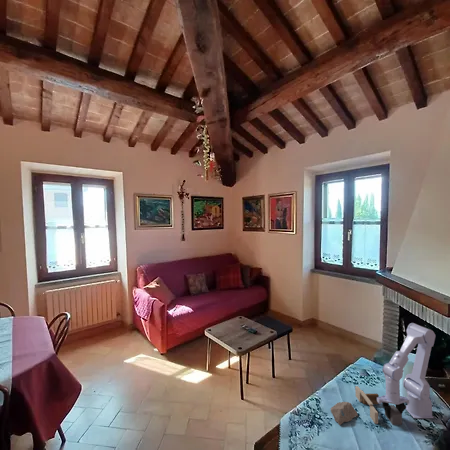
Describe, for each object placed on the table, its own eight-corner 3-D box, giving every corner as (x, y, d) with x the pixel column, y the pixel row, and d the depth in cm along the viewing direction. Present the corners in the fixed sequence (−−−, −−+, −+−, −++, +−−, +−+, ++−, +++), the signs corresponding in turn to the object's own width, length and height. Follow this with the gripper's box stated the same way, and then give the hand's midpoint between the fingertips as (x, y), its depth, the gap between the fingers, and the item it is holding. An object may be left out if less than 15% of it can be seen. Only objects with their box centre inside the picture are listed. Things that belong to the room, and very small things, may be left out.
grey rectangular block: (393, 414, 124) (393, 405, 124) (402, 424, 118) (401, 414, 118) (384, 414, 124) (384, 405, 124) (392, 424, 118) (392, 414, 118)
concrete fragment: (360, 418, 123) (360, 406, 123) (339, 427, 118) (339, 414, 117) (348, 408, 129) (348, 396, 129) (328, 416, 124) (328, 404, 124)
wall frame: (358, 395, 138) (358, 384, 138) (378, 423, 119) (377, 410, 119) (355, 395, 138) (355, 384, 138) (375, 423, 119) (374, 410, 119)
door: (362, 402, 133) (362, 393, 132) (377, 402, 132) (377, 393, 132) (364, 406, 130) (364, 396, 130) (380, 406, 130) (380, 396, 130)
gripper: (402, 384, 124) (402, 410, 125) (373, 384, 125) (373, 410, 125) (412, 393, 117) (412, 421, 118) (381, 394, 118) (381, 421, 118)
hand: (393, 416), depth 121 cm, fingers closed on grey rectangular block, 4 cm apart
